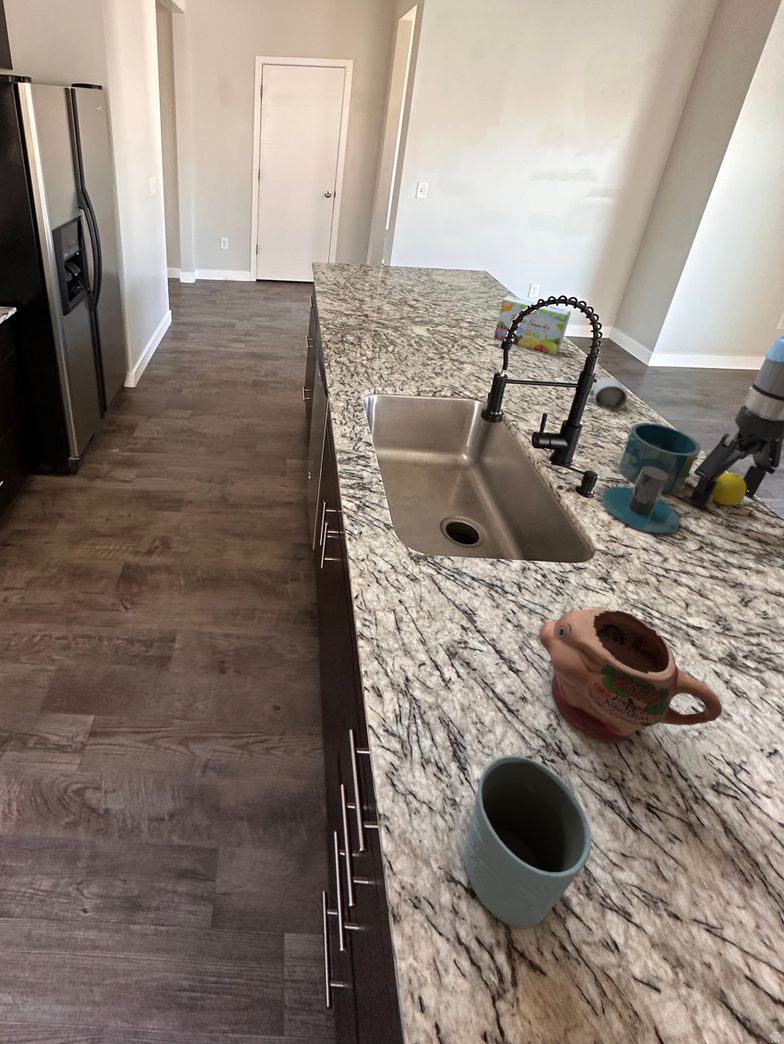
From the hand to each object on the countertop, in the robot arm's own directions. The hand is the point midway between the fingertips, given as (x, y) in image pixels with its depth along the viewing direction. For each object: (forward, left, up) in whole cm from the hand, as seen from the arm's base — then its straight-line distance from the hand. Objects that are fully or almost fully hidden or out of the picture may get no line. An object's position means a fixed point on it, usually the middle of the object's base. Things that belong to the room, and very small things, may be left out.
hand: (721, 498), depth 113 cm
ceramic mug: (+41, -9, -2) cm, 42 cm away
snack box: (+82, -17, -2) cm, 83 cm away
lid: (+2, +20, -1) cm, 20 cm away
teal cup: (-40, +84, -2) cm, 93 cm away
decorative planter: (-29, +60, -2) cm, 67 cm away
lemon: (0, 0, -2) cm, 2 cm away
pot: (+11, +7, -1) cm, 13 cm away
